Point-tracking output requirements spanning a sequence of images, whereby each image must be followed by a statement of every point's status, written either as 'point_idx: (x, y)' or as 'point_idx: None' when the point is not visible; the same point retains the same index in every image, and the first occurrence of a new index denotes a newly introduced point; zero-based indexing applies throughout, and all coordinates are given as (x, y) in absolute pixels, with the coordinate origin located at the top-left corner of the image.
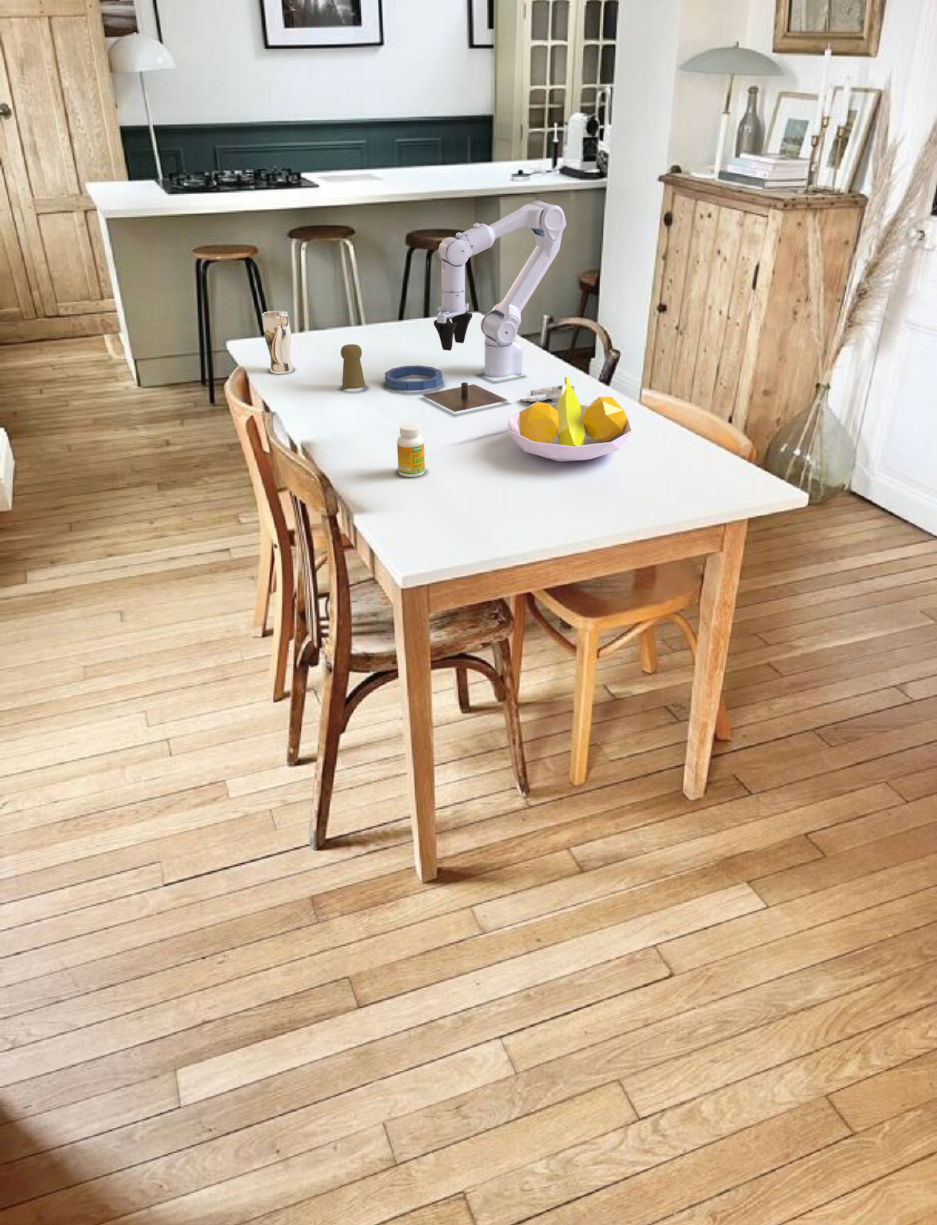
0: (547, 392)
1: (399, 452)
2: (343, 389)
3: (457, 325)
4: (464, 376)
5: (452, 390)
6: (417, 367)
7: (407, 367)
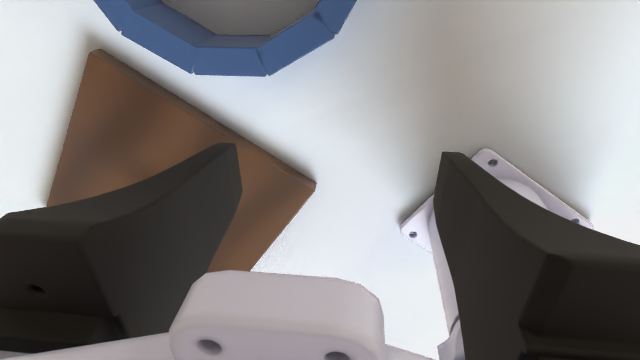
0: None
1: None
2: None
3: (478, 251)
4: (458, 96)
5: (206, 146)
6: None
7: None
